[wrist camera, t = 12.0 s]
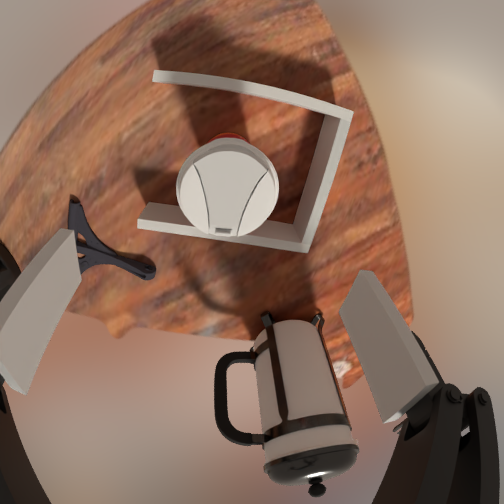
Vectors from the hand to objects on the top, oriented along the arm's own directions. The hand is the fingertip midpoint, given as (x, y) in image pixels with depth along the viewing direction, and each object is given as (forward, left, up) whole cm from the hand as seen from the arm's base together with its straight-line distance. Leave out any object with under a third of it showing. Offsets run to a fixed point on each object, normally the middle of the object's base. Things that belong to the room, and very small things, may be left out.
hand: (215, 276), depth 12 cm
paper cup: (0, 0, -23) cm, 23 cm away
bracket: (-14, -16, -24) cm, 32 cm away
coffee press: (+15, -29, -23) cm, 39 cm away
